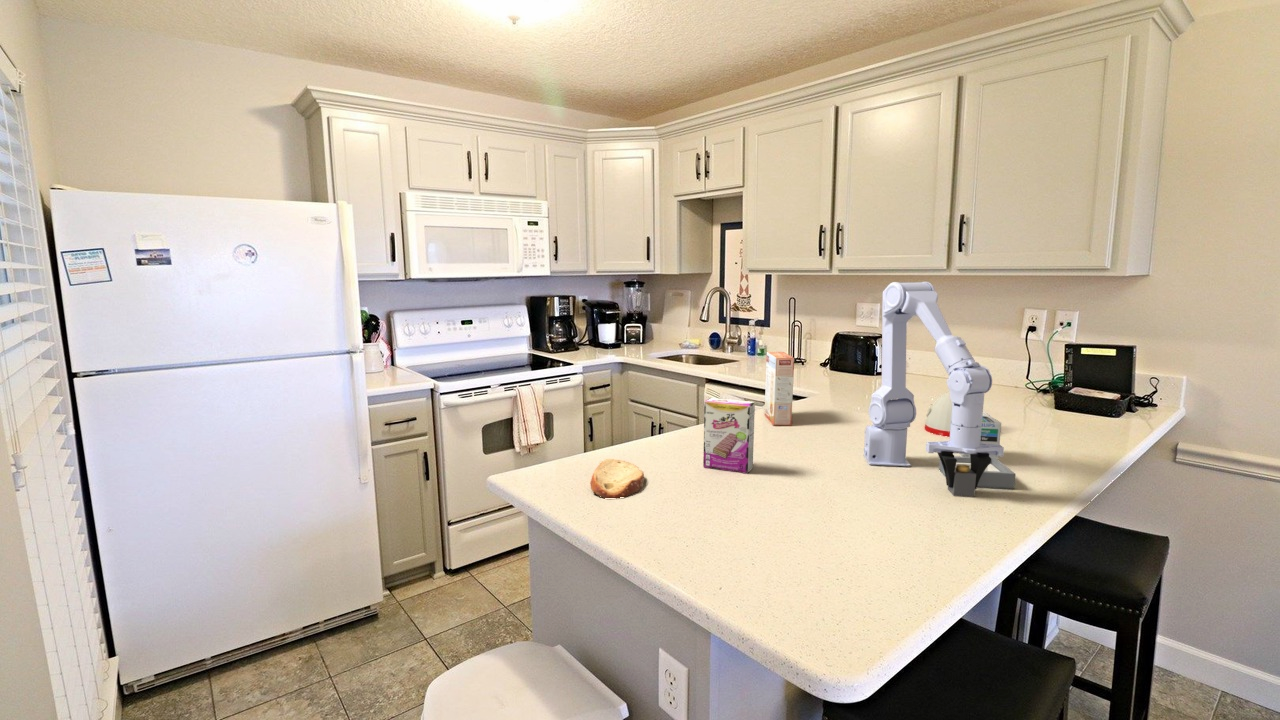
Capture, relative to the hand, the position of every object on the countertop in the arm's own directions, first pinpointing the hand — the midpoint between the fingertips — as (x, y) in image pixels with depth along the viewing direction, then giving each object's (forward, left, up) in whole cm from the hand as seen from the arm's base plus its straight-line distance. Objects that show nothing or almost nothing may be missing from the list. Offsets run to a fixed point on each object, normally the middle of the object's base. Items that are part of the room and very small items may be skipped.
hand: (961, 486), depth 130 cm
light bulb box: (+12, +26, -2) cm, 29 cm away
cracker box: (-35, +58, -2) cm, 67 cm away
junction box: (+6, +10, -1) cm, 11 cm away
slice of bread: (-74, -4, -2) cm, 74 cm away
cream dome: (+14, +52, -2) cm, 54 cm away
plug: (0, 0, -1) cm, 1 cm away
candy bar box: (-49, +9, -2) cm, 50 cm away
